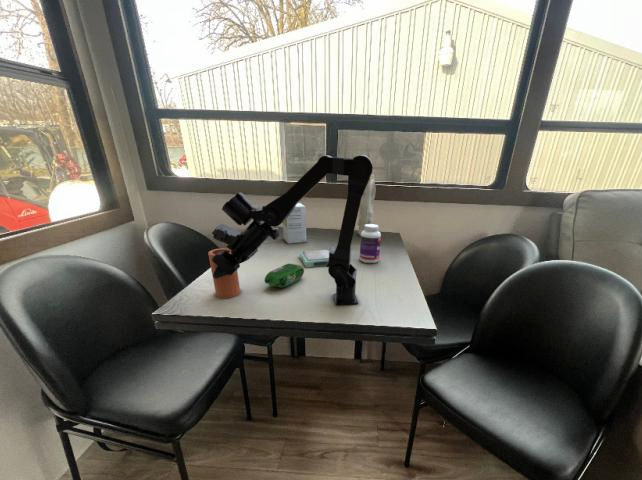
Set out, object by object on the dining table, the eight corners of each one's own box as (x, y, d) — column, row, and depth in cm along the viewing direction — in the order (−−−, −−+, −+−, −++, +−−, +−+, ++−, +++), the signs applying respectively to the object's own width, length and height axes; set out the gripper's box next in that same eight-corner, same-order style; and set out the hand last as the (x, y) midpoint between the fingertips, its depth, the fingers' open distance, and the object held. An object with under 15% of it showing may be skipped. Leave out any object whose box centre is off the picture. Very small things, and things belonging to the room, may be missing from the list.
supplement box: (283, 238, 145) (280, 203, 138) (301, 237, 149) (300, 202, 141) (288, 243, 138) (285, 206, 130) (307, 242, 141) (306, 205, 134)
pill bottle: (379, 264, 118) (382, 228, 111) (359, 263, 117) (361, 227, 111) (378, 257, 125) (380, 223, 118) (359, 257, 125) (360, 222, 118)
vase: (366, 232, 163) (369, 173, 149) (376, 235, 157) (381, 174, 143) (354, 234, 158) (356, 173, 144) (364, 238, 152) (368, 175, 138)
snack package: (260, 289, 93) (259, 274, 91) (291, 273, 106) (290, 259, 103) (278, 294, 91) (277, 279, 88) (307, 277, 103) (307, 263, 101)
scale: (336, 265, 115) (336, 258, 114) (306, 267, 111) (306, 260, 110) (328, 255, 125) (328, 248, 124) (300, 257, 122) (299, 250, 120)
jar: (238, 297, 88) (231, 255, 82) (213, 298, 87) (205, 255, 81) (241, 287, 94) (236, 248, 88) (219, 288, 92) (211, 248, 87)
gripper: (242, 209, 88) (213, 243, 93) (213, 223, 71) (178, 264, 76) (271, 236, 91) (240, 268, 96) (249, 256, 74) (213, 293, 80)
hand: (220, 272), depth 87 cm, fingers open, 7 cm apart
